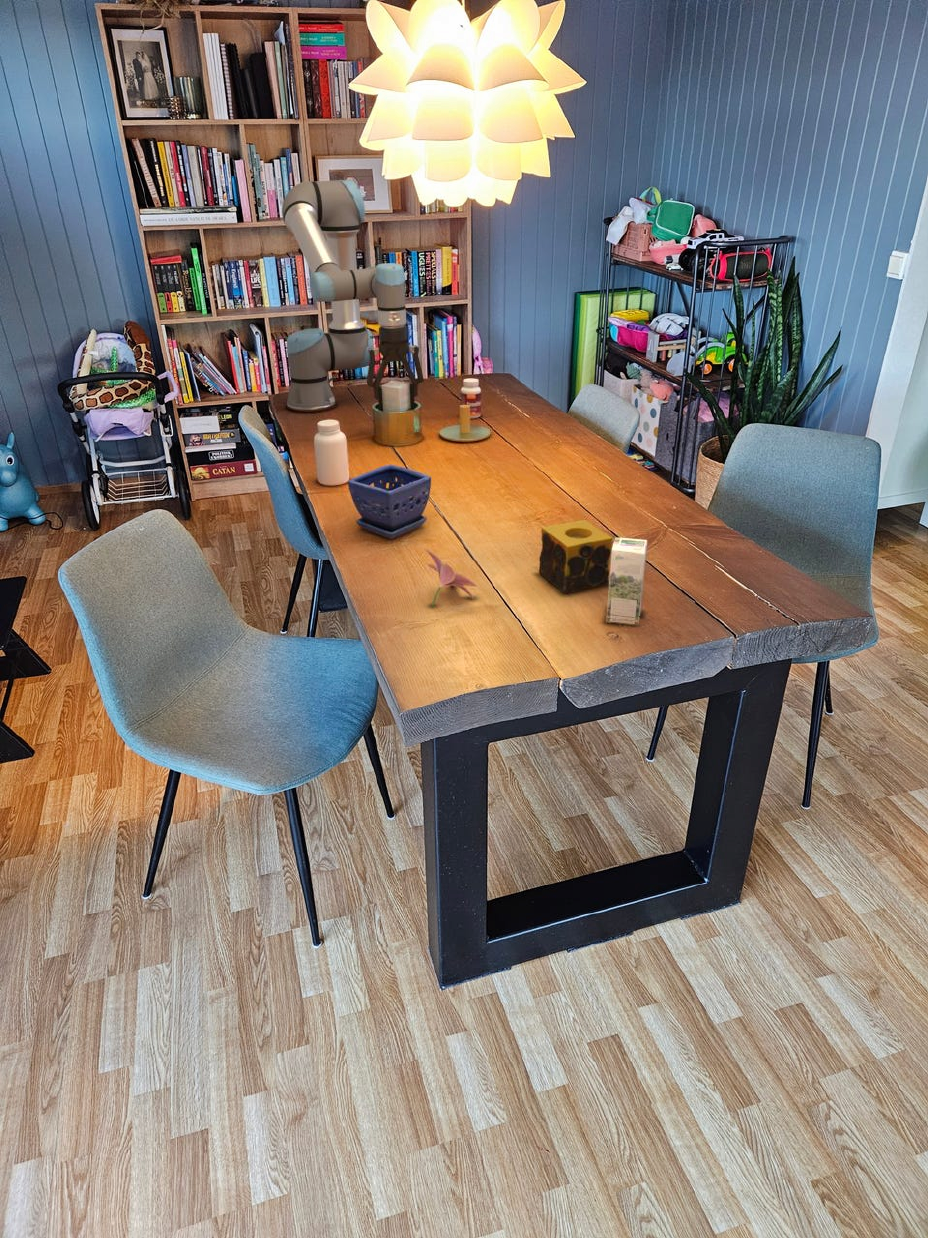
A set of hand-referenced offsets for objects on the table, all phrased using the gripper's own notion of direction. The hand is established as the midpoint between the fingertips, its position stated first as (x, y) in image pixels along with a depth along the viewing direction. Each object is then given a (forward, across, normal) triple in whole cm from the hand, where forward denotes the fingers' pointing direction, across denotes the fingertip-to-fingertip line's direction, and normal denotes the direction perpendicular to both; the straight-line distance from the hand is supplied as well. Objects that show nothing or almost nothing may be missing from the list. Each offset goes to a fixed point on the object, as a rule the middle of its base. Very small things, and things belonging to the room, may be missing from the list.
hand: (396, 409), depth 247 cm
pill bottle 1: (+9, -22, -30) cm, 38 cm away
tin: (+9, 0, 0) cm, 9 cm away
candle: (+9, +15, -99) cm, 101 cm away
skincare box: (+1, 0, 0) cm, 1 cm away
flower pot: (+9, -14, -64) cm, 66 cm away
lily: (+9, -10, -100) cm, 101 cm away
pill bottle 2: (+9, +26, +16) cm, 32 cm away
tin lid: (+8, +19, -3) cm, 21 cm away
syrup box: (+9, +18, -116) cm, 118 cm away
